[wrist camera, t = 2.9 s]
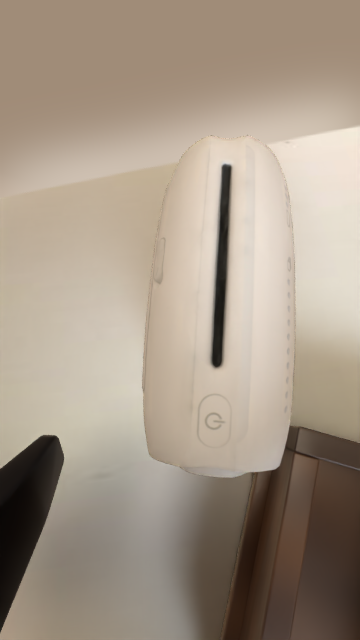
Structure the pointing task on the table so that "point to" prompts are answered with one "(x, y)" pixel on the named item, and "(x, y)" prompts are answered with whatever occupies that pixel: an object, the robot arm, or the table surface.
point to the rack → (300, 546)
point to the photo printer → (221, 313)
